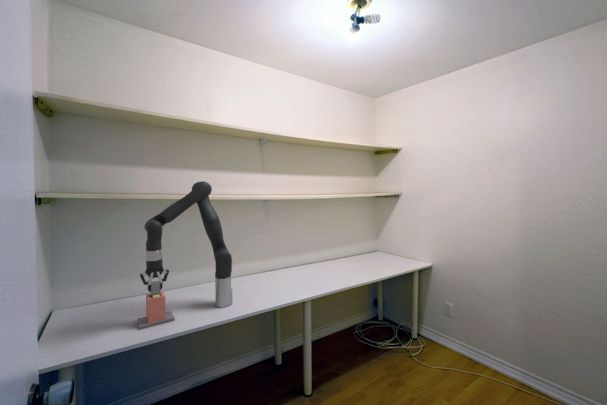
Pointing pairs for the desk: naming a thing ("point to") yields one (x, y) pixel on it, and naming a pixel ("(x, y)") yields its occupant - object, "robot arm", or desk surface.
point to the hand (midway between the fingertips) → (155, 290)
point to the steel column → (155, 288)
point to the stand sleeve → (155, 312)
